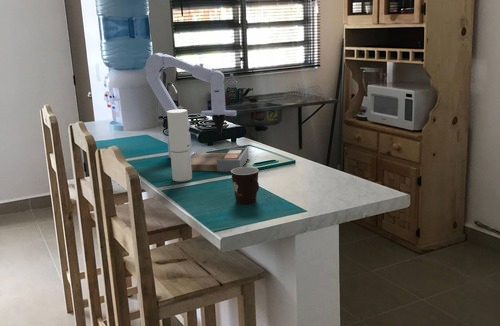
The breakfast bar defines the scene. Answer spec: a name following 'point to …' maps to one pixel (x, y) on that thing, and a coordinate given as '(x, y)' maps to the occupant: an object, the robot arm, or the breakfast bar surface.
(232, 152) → the cream tile
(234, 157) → the terracotta tile
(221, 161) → the box
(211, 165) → the walnut board
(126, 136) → the breakfast bar surface
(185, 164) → the cylindrical container
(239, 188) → the coffee mug
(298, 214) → the breakfast bar surface
